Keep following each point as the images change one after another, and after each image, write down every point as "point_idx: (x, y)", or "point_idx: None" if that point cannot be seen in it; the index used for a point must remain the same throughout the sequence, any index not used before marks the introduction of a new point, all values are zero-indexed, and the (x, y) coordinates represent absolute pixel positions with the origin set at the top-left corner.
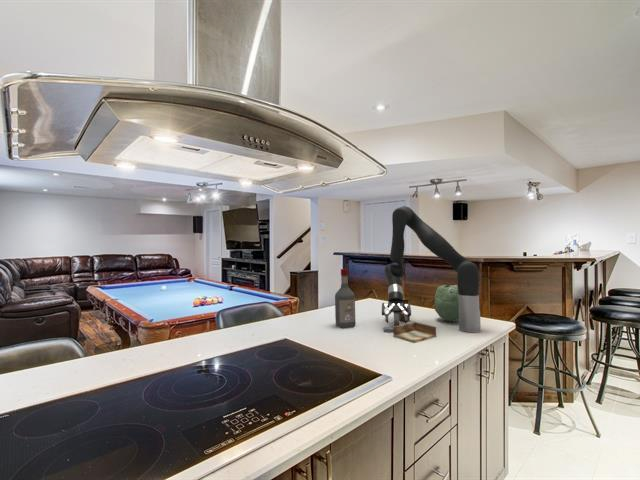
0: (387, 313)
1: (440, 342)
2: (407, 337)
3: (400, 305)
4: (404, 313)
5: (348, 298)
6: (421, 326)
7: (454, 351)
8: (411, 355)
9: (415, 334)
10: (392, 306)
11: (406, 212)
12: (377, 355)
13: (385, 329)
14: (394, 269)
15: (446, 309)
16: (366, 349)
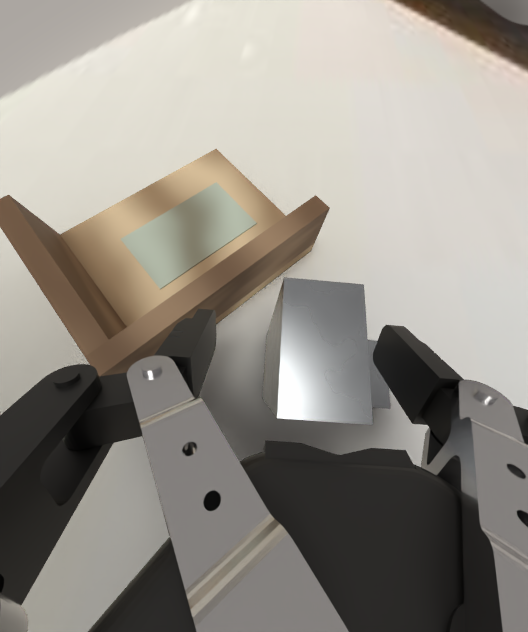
0: (460, 387)
1: (84, 165)
2: (239, 190)
3: (213, 595)
4: (181, 382)
5: None
6: (86, 292)
7: (85, 75)
8: (257, 52)
9: (179, 239)
10: (514, 547)
11: None
12: (368, 56)
13: (370, 340)
14: None
15: None
16: (414, 98)
